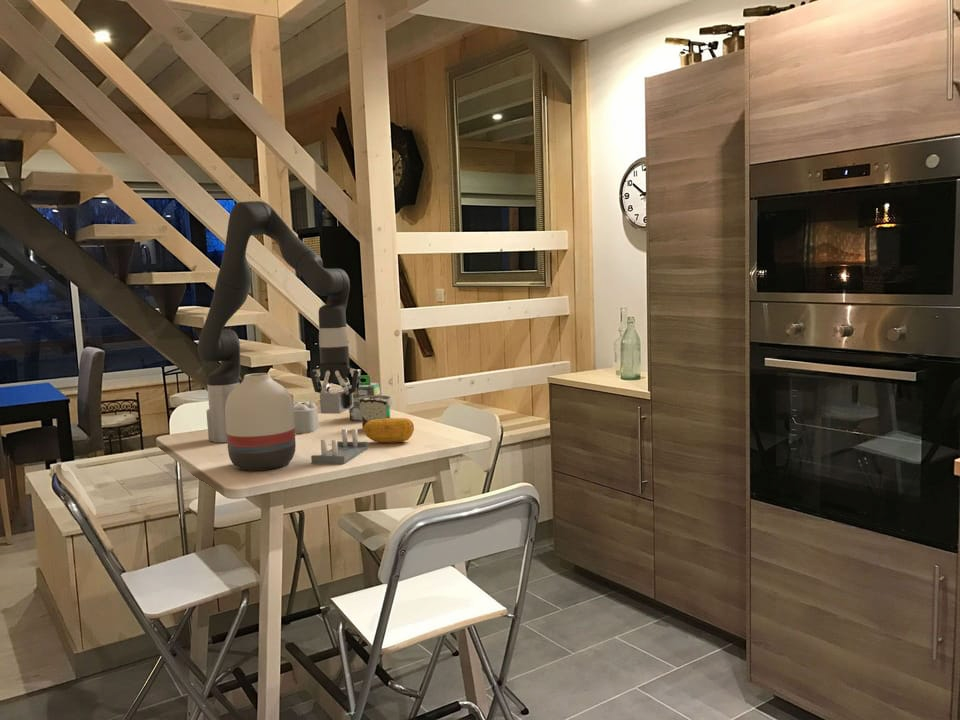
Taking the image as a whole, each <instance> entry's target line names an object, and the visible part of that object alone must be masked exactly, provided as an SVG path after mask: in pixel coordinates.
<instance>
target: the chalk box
mask: <svg viewBox="0 0 960 720" xmlns="http://www.w3.org/2000/svg"><path fill="white" fill-rule="evenodd" d="M361 379H365V381H363V382H362V381H361ZM350 386H352V384H350ZM373 395H381V389H380V382H379V381H378V382H371V377H370V375H369V374H366V375H365V374H364V375H362V374H361V376H360V383H359V389H358V391H355V392H353V404H354V407H352V408H350V409H348V411H349V421H350V420H353V421H362V420H361V412H360V405H359V404H358V399H359V397H363V396H373Z"/></svg>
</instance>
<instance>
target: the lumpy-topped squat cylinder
mask: <svg viewBox="0 0 960 720" xmlns="http://www.w3.org/2000/svg"><path fill="white" fill-rule="evenodd" d="M293 409H294V424H295V433H306V434H312V433H314V431H315V432H317V431H318V430H319V428H320V427H319V416H318V415H319V413H318V412H319V411H318V406H317V405H316V403H314V402H310V401H307V400H306V401H304V402H303V403H302V402H301V401H295V403H293ZM317 429H318V430H317ZM311 432H312V433H311Z"/></svg>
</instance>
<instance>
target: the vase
mask: <svg viewBox="0 0 960 720" xmlns="http://www.w3.org/2000/svg"><path fill="white" fill-rule="evenodd" d="M271 376H272V375H271V374H270V373H269V372H260V373H259V372H258V373H255V372H254V373H248V374H245V375H244V376H243V380H242V381H241V383H240V384H239V385H238V386H237V387H236V388H235V389H234V390H232V392H231V393H230V394H229V395H228V397H227V400H226V404H225V420H226V433H227V442H226V443H227V451H228V452H227V453H228V456H229V460H230V462H231V464H232V465H233V466H235V467H236V468H237V469H239V470H243V471H267V470H274V469H277V468H280V467H283V466H285V465H287V464H288V463H290V462H292V460H293V459H294V456H295V453H296V444H297V443H296V434H295V424H294V409H293V405H294V402H293V398H292V395H291V393H290V392H289V391H288V390H287V388H285V386H283V385H282V384H280V383H278V382H277V381H276V380H274V379H273V378H272V377H271Z"/></svg>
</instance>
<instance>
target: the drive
mask: <svg viewBox="0 0 960 720" xmlns="http://www.w3.org/2000/svg"><path fill="white" fill-rule="evenodd" d="M344 395H345V392H344V390H343V388H333V389H329V391H327V392H325V393H322V394H321V393H319V407H320V414H325V415H326V414H338V415H339V414H342V413H344V412H345V411H349V409H350V408H352V407H354V404H353V393H352V406H350V408H348V409H345V398H344Z"/></svg>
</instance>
